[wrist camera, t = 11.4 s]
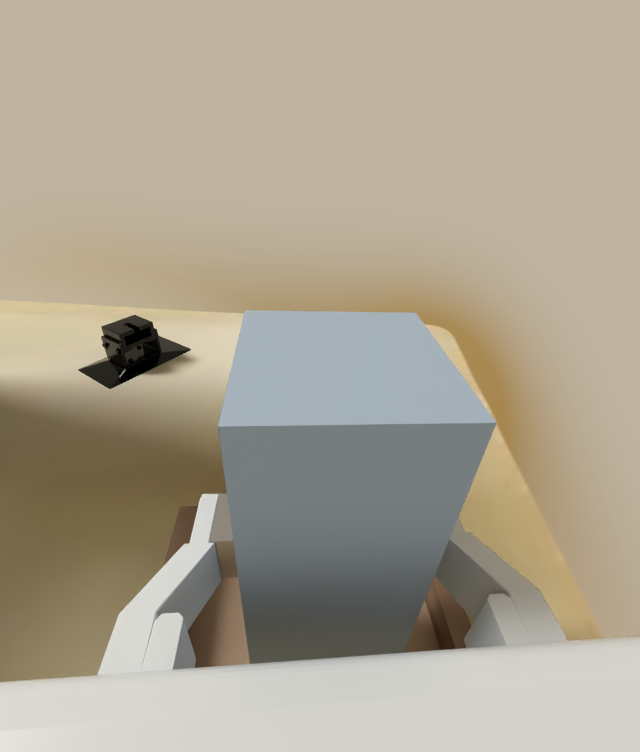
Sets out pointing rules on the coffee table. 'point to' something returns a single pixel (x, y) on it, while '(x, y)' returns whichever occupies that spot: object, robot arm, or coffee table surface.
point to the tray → (227, 629)
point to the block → (342, 477)
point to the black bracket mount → (131, 351)
